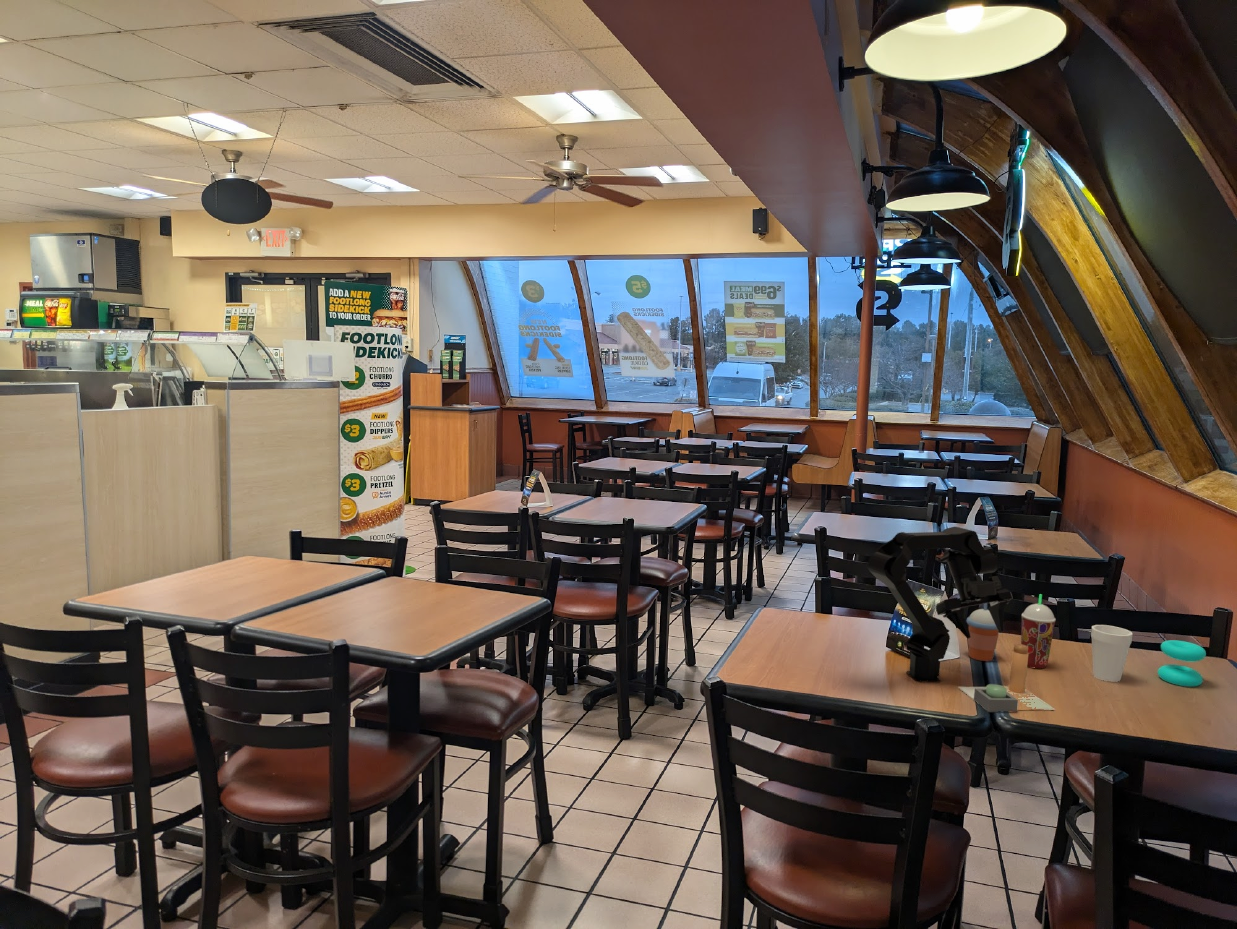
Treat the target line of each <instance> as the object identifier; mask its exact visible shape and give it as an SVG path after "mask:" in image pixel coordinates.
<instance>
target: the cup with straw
mask: <svg viewBox="0 0 1237 929" xmlns="http://www.w3.org/2000/svg"><path fill="white" fill-rule="evenodd" d="M965 621H966V624H967V626H968V630H969V633H970V638H967V644H968V656H969V657H970V658H971V659H973V660H976V661H981V662H991V661H993V658H994V654H995V650H996V649H997V643H998V638H999V630H998V629H997V627H996V625H995V623H994V620H993V618H992V616H991V614H990V612H989V610H988V604H987V603H985V604H983V608H979V609H976V610H974V611H972V612H971V614H970V615H969V616H968V617H967V618H966V620H965Z"/></svg>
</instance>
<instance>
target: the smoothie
mask: <svg viewBox="0 0 1237 929" xmlns="http://www.w3.org/2000/svg"><path fill="white" fill-rule="evenodd" d="M1038 595H1039V596H1038V603H1032V604H1030V605H1028V606H1027V607H1026V608H1025V609H1024V611H1023V612H1022V613H1021V631H1020V633H1021V636H1020V644H1022V645H1026V646H1028V663H1027V666H1029V667H1028V668H1030V667H1035V668H1034V669H1036V668H1042V669H1045V668H1046V666H1047V665H1048V664H1049V659H1050V654H1051V647H1052V641H1053V636H1054V629H1055V623H1056V617H1055V615H1054V613H1053V611H1052V610H1051V609H1050V607H1048V606H1047V605H1045V604H1043V603H1042V598H1043V594H1041V593H1040V594H1038Z"/></svg>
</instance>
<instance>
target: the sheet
mask: <svg viewBox="0 0 1237 929" xmlns="http://www.w3.org/2000/svg"><path fill="white" fill-rule="evenodd" d="M1003 686H1004V687H1005V688H1006V689H1007V693H1006V698H991V697H989V696H988V695H987V694H986V688H987V686H958V687H957V689H958V690H960V691H961V692H962V691H963V692H962V693H963V694H965V695H966V694H967V695H966V696H967V697H968V698H970V699H971V698H972V699H971V700H973V701H974V702H975V701H976V702H977V703H976V702H975V703H976V704H978V705H979V704H980V705H981V706H982V707H981V706H980V705H979V706H980V707H981V708H982V709H983V710H985V711H986V712H987V713H999V712H998V711H1017V707H1018V700H1017V699H1016V698H1015V697H1013V696H1012V695H1013V693H1014V694H1019V696H1021V695H1020V694H1023V695H1026V694H1030V696H1035V697H1028V698H1026V697H1025V698H1024V697H1022V698H1018V699H1023V700H1020V702H1021V701H1022V702H1024V701H1025V702H1031V703H1027V705H1026V706H1027V707H1032V709H1034V708H1035V707H1036V709H1044V710H1054V711H1056V709H1055V708H1054V707H1053V706H1051V705H1050V704H1048V703H1047V702H1045V701H1044V700H1042V699H1041V698H1039V697H1038V696H1036V695H1035V694H1034V693H1032V692H1031V691H1030V690H1029V689H1026V688H1025V691H1027V692H1024V693H1015V692H1008V691H1010V690H1009V687H1008V686H1009V685H1003ZM1011 694H1012V695H1011ZM1032 694H1033V695H1032ZM1027 696H1029V695H1027ZM1026 699H1030V700H1026ZM1032 699H1033V700H1032ZM1034 702H1035V703H1034ZM1023 704H1026V703H1023ZM1029 704H1031V705H1029ZM1054 711H1053V712H1054ZM1017 712H1018V711H1017Z"/></svg>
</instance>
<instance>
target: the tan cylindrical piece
mask: <svg viewBox="0 0 1237 929" xmlns="http://www.w3.org/2000/svg"><path fill="white" fill-rule="evenodd" d="M1011 653H1012V654H1011V664H1010V673H1009V684H1008V686H1009V690H1010V691H1012V692H1015V693H1024V692H1025V689H1026V682H1027V670H1028V667H1027V663H1028V646H1026V645H1022V644H1021V643H1015V644H1014V645H1013V649H1012V652H1011Z"/></svg>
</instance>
